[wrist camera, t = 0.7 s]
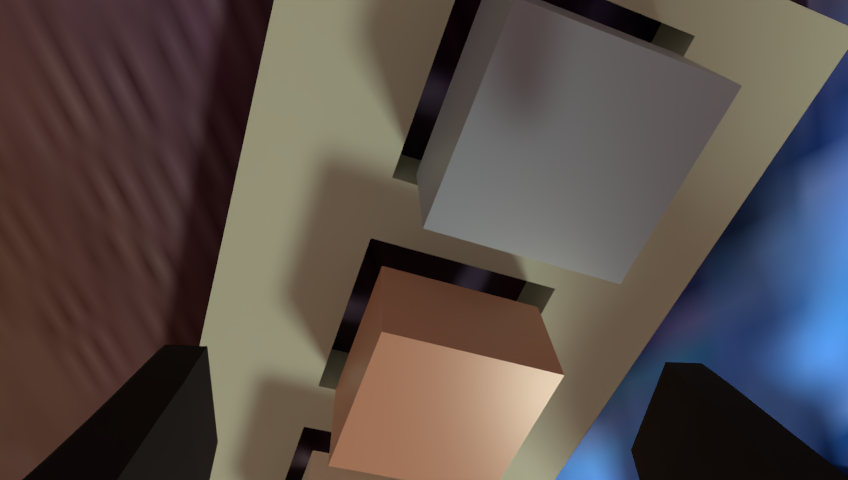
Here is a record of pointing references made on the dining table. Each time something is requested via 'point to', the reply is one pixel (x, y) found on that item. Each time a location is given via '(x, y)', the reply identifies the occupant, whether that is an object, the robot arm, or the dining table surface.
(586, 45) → the key slate
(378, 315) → the key terracotta
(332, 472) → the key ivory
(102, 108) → the dining table surface
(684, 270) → the panel
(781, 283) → the dining table surface
